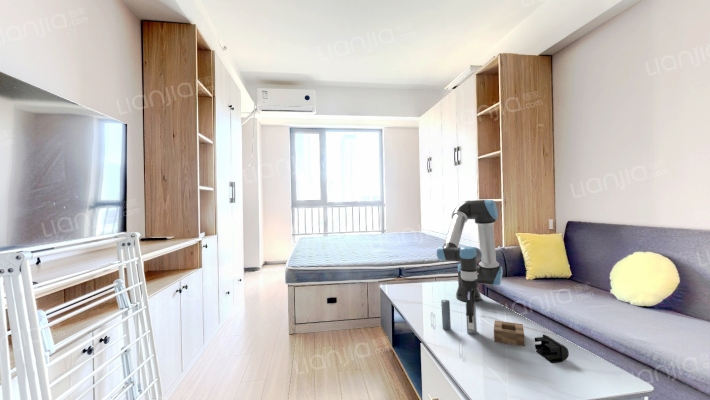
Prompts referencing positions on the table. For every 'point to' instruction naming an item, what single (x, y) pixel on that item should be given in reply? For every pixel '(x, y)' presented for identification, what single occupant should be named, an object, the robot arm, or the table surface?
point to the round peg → (446, 314)
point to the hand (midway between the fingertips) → (471, 326)
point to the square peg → (474, 331)
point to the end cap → (551, 349)
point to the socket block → (509, 333)
